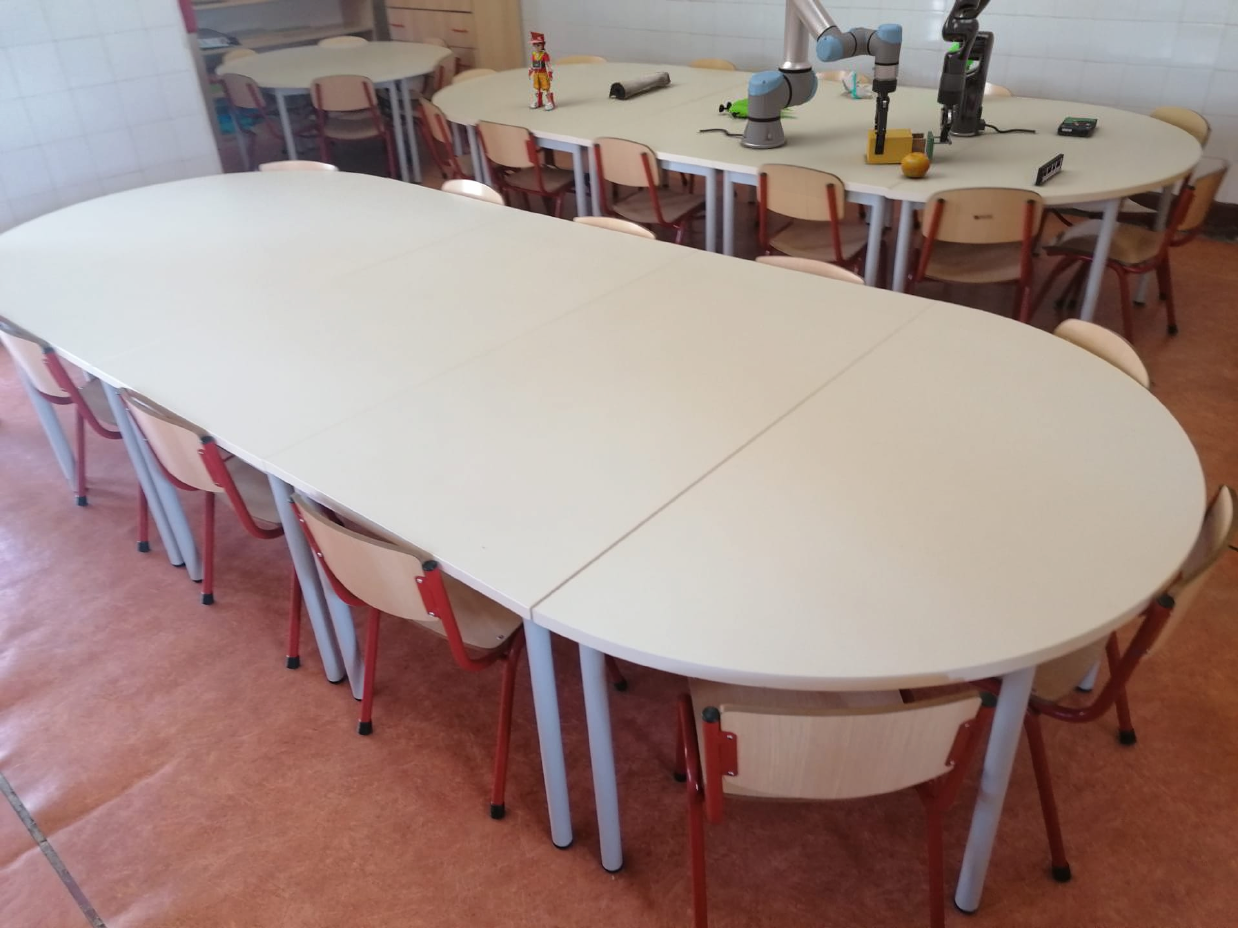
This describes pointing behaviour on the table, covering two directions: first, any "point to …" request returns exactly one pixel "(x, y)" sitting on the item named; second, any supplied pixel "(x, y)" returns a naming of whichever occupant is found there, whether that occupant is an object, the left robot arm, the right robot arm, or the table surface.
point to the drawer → (920, 143)
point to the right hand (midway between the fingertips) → (942, 143)
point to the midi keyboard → (1049, 169)
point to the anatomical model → (855, 86)
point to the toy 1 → (541, 71)
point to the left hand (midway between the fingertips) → (877, 149)
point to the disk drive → (1077, 126)
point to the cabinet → (890, 146)
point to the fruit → (915, 164)
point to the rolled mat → (638, 84)
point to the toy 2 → (741, 108)
